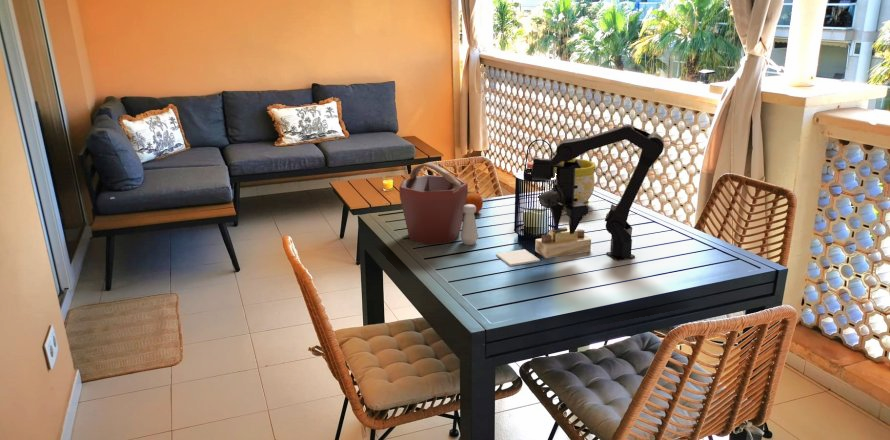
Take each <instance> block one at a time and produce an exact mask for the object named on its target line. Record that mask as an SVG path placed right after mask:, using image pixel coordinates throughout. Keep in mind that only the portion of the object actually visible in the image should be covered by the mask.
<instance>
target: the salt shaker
mask: <svg viewBox="0 0 890 440" xmlns="http://www.w3.org/2000/svg"><path fill="white" fill-rule="evenodd" d="M463 212H464V213H465V214H463V219H462V224H461V230H460V239H461V241H462V244H464V245H466V246H473V245H475V244H477V242H478V241H477V240H478V239H479V232H478V227H477V222H476V217H475V214H476V213H475V212H476V206H475V205H472V204H467V205H464V206H463ZM474 213H475V214H474Z"/></svg>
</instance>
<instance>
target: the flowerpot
mask: <svg viewBox="0 0 890 440" xmlns="http://www.w3.org/2000/svg"><path fill="white" fill-rule="evenodd" d="M576 159H578V161H579V162H580V163H581V164H582V167H581V168H580V169H578V168H576V171H575V184H576V185H578V188H577V189H575V197H576V198H577V201H576V202H573V203H579V202H581V203H583V204H585V205H587V206H588V205H589V203H590V201H589V200H590V198H591V197H592V196H593V192H594V189H595V168H596V166H597V165H596V163H595V162H594V161H591V160H587V159H581V158H574V159H572V160H570V162H574V161H575V160H576ZM559 164H564V161H562V162H560V163H559ZM555 173H556V174H557V167H555ZM564 209H565V206H564V208H563V210H564Z"/></svg>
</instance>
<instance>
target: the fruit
mask: <svg viewBox="0 0 890 440" xmlns="http://www.w3.org/2000/svg"><path fill="white" fill-rule="evenodd" d="M467 204H472V205H475V206H476V212H475V213H474V215H475V214H478V213H479V212H481V210H482V209H483V204H484V200H483V197H482V196H481V195H480V194H479V193H477V192H475V191H472V190H470V191H469V190H468V193H467V198H466V204H465V205H467ZM464 214H465V213H464ZM464 214H463V215H464Z"/></svg>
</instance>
